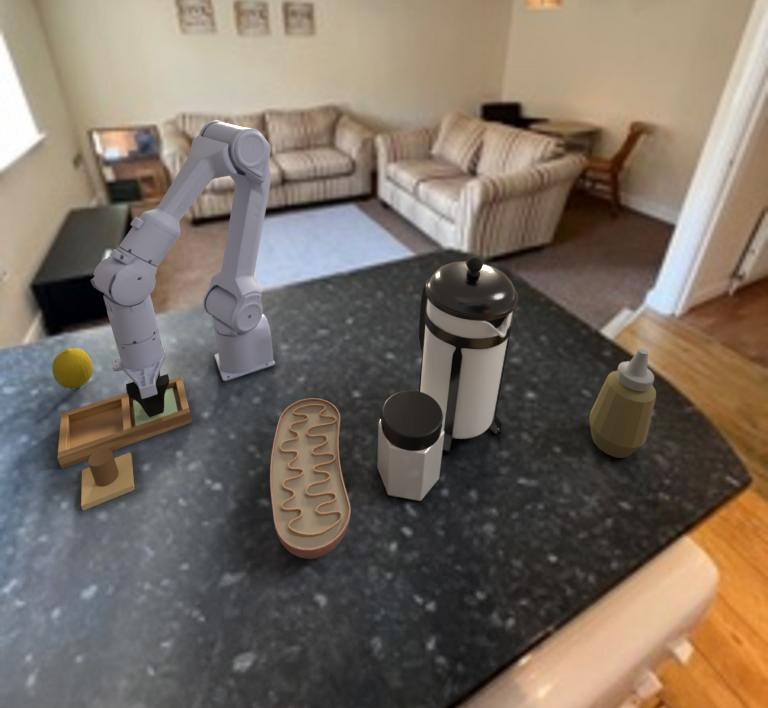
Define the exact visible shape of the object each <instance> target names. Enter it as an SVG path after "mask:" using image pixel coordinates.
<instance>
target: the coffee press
mask: <svg viewBox="0 0 768 708" xmlns="http://www.w3.org/2000/svg"><path fill="white" fill-rule="evenodd" d="M420 297H421V298H420V308H419V309H420V310H419V322H418V323H419V324H418V340H419V341H418V342H419V347H420V351H421V359H420V360H421V361H420V375H419V385H418V391H419V392H422V393H425V394H427V395H429V396H431V397H432V398H433V399H435V400H436V401H437V403H438V404H439V405H440V407H441V409H442V413H443V420H442V429H443V430H444V441H443V450H442V453H445V454H447V455H448V454H449V455H450V453H451V448H452V443H453V439H459V440H463V439H464V440H466V439H472V438H475V437H478V436H481V435H482V434H483V433H485V432H486V431H487V430H489V431H490V432H491V433H492V434H493V435H500V434H501V433H502V427H503V424H502V423H501V421H500V419H499V418H498V416H497V412H498V405H499V399H500V393H501V387H502V381H503V375H504V371H505V366H506V360H507V354H508V349H509V345H510V344H509V343H510V337H511V332H512V327H513V320H514V317H513V312H514V310H515V309H516V307H517V306H518V300H519V294H518V291H517V290H516V288H515V286H514V283H513V282H512V280H511V279H510V277H509V276H508V275H507V274H506V273H504V272H503V271H501V270H500V269H498V268H496V267H495V266H491V265H489V264H486V263H484V262H483V260H482V258H480V257H479V256H477V255H473V256H470V257H469V258H468V259H467V260H466V261H465V260H464V261H463V260H461V261H454V262H451V263H447V264H444V265H442V266H440V267H439V268H438V269H436V270H435V272H434V273H433V274H432V275H431V276H430V277H429V278H428V280H427V281H426V284H424V286H423V288H422V292H421V296H420ZM493 421H494V424H495V425H494V424H493Z"/></svg>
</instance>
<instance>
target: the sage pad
mask: <svg viewBox="0 0 768 708" xmlns="http://www.w3.org/2000/svg"><path fill="white" fill-rule="evenodd" d="M133 406H134V416H135V426H138V425H141V424H144V423H147V422H149V421H152V420H155V419H158V418H161V417H164V416H167V415H170V414H173V413H176V412H178V410H177V405H176V401H175V396H174V391H173V388H170V389H167V390H166V392H165V397H164V412H163V413H161V414H158V415H155V416H152V417H149V416H148V415H147V414H146V412H145V411H144V409H143V408H142V406H141V405H140V404H139V403H138V402H137V401H136V400H133Z"/></svg>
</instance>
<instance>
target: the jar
mask: <svg viewBox="0 0 768 708" xmlns="http://www.w3.org/2000/svg"><path fill="white" fill-rule="evenodd" d="M380 413H381V414H380V419H379V420H378V426H377V427H378V428H377V429H378V430H377V432H378V433H377V464H376V465H377V466H376V467H377V470H378V473H379V475H380V478H381V481H382V483H383V486H384V488H385V491H386V494H387V495H388V496H391V497H397V498H403V499H408V500H412V501H419V502H421V501H423V499H424V498H425V496H426V495H427V494H428V493H429V492H430V491H431V489H432V488H433V487H434V486H435V484H436V483H437V482H438V481H439V480H440V475H441V467H442V457H443V452H442V450H443V441H444V430H443V429H442V420H443V413H442V409H441V407H440V405H439V404H438V403H437V401H436V400H435V399H433V398H432V397H431V396H429V395H427V394H425V393H422V392H419V390H412V389H411V390H402V391H398V392H395V393H393V394H392V395H390V396H389V397H388V398H386V400H385V401H384V403H383V404H382V407H381V412H380Z"/></svg>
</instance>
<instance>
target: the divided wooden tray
mask: <svg viewBox="0 0 768 708" xmlns="http://www.w3.org/2000/svg"><path fill="white" fill-rule="evenodd" d="M170 388H173V391H174V396H175V401H176V405H177V410H178V412H176V413H173V414H170V415H167V416H164V417H161V418H158V419H155V420H152V421H149V422H147V423H144V424H141V425H138V426H135V416H134V406H133V400H134V399H132V398H130V397H129V396H128V394H127V392H125V393H123V394H119V395H115V396H113V397H112V396H111V397H109V398H106V399H102V400H100V401H97V402H93V403H90V404H87V405H84V406H80V407H78V408H74V409H70V410H68V411H64V412H62V413H60V424H59V433H58V434H59V435H58V447H57V456H56V457H57V462H58V463H59V466H60V468H61V470H63V469H67V468H69V467H73V466H75V465H78V464H80V463H83V462H86V461H88V459H89V457H90V456H91V455H92V454H93V453H94V452H96V451H98V450H100V449H104V448H107V449H110V450H111V451H112V452H114V451H116V450H119V449H122V448H125V447H127V446H131V445H133V444H136V443H139V442H141V441H143V440H147V439H151V438H153V437H155V436H158V435H161V434H163V433H167V432H169V431H173V430H175V429H178V428H180V427H184V426H186V425H189V424H191V423H193V420H192V416H191V415H192V414H191V411H190V407H189V403H188V398H187V394H186V391H185V386H184V382H183V378H182V376H177V377H174V378H171V379H170V378H169V385H168V387H167V389H170ZM167 389H166V390H167Z"/></svg>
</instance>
